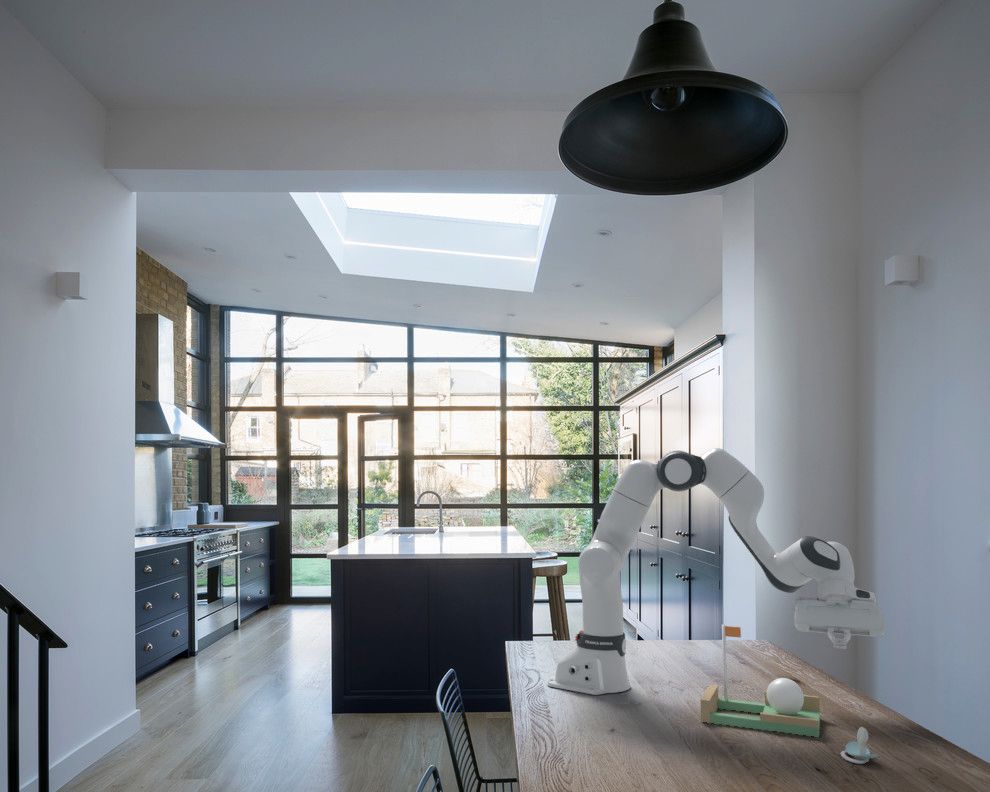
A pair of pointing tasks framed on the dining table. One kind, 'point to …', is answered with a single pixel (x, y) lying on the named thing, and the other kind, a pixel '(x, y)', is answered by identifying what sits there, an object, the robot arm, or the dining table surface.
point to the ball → (785, 696)
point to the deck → (757, 707)
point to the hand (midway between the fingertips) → (839, 647)
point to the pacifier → (858, 749)
